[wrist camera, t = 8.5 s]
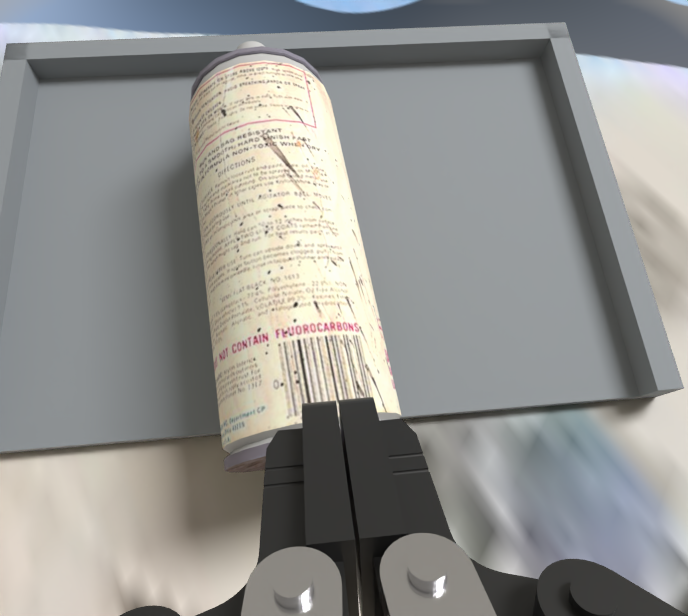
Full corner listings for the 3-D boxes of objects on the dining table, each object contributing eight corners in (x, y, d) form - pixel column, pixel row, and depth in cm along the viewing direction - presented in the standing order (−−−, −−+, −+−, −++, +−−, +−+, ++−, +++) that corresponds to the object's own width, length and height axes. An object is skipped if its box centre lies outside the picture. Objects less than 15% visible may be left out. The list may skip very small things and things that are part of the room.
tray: (-37, 456, 23) (-70, 452, 21) (26, 71, 30) (6, 43, 28) (656, 396, 25) (684, 388, 23) (551, 50, 32) (565, 22, 30)
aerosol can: (440, 430, 20) (344, 43, 26) (313, 440, 15) (235, -38, 22) (319, 462, 24) (263, 120, 31) (188, 479, 19) (155, 66, 26)
